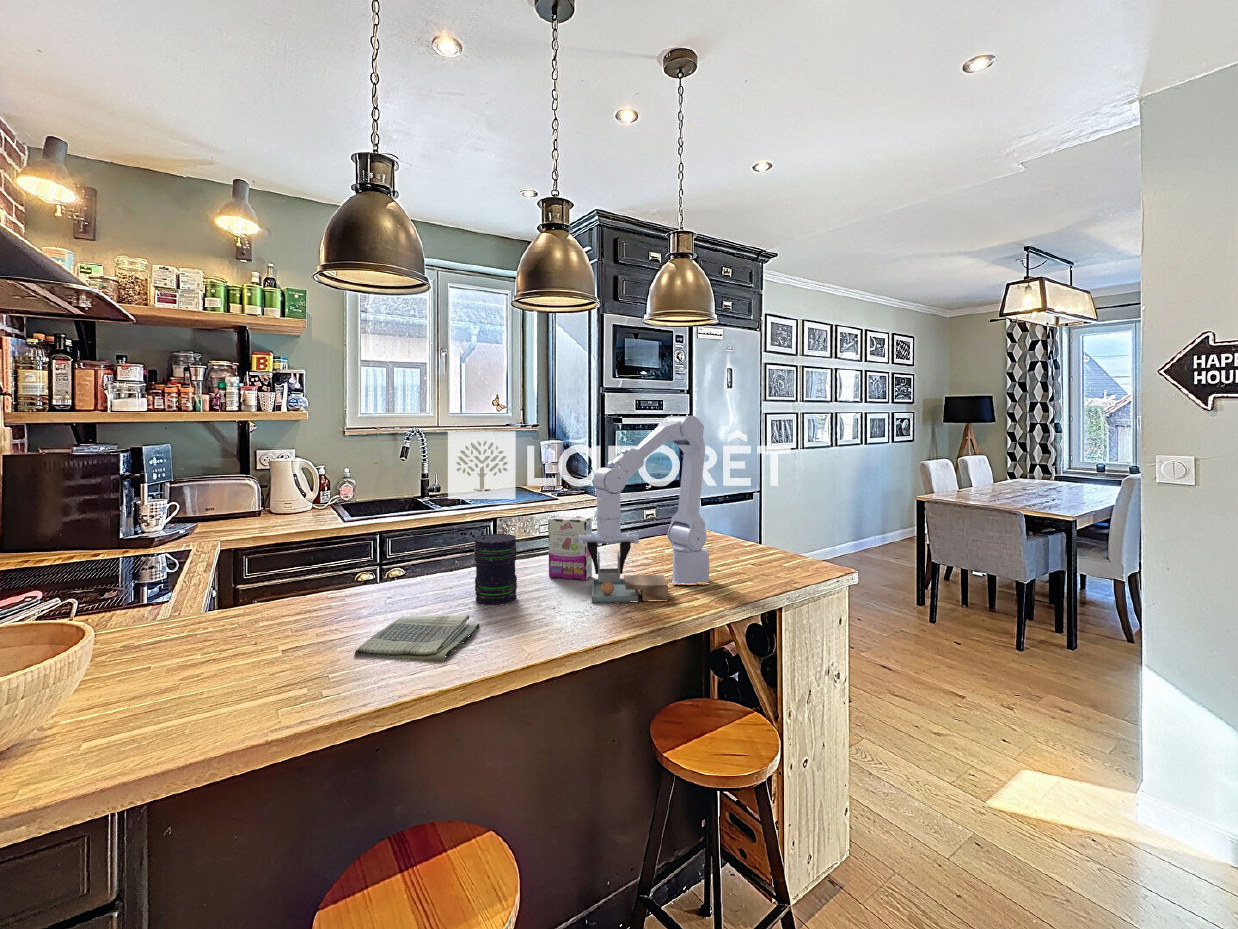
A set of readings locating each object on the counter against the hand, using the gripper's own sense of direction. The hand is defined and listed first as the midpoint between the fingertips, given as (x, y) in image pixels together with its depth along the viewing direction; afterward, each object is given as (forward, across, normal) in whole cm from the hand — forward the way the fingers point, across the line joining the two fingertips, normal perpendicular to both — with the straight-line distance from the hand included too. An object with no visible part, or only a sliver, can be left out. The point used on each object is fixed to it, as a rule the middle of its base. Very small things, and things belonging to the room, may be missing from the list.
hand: (608, 572), depth 142 cm
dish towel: (+7, -37, -27) cm, 46 cm away
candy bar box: (+6, -10, +18) cm, 22 cm away
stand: (+6, +10, 0) cm, 12 cm away
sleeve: (+1, 0, 0) cm, 1 cm away
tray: (+6, +1, +2) cm, 7 cm away
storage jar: (+6, -27, -1) cm, 28 cm away
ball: (+4, 0, 0) cm, 4 cm away
